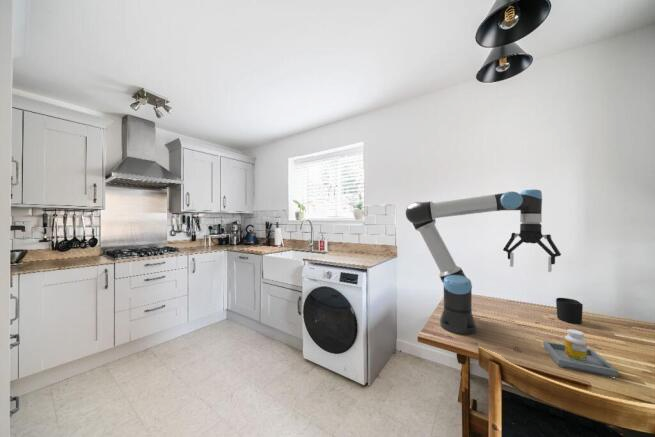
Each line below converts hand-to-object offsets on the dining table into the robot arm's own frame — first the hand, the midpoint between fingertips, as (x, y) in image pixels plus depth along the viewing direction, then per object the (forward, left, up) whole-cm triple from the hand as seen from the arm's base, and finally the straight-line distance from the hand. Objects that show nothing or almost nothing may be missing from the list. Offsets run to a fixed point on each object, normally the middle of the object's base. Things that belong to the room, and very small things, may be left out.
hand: (529, 268), depth 109 cm
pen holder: (+21, +21, -28) cm, 41 cm away
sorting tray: (+7, -24, -28) cm, 38 cm away
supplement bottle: (+7, -24, -28) cm, 37 cm away
